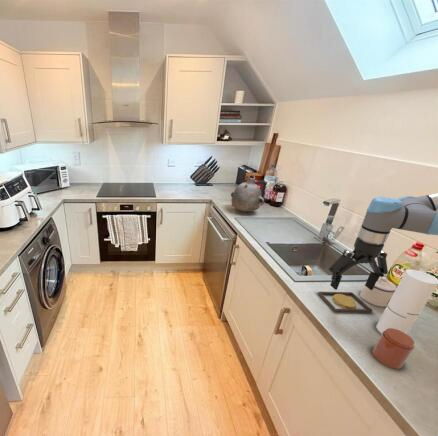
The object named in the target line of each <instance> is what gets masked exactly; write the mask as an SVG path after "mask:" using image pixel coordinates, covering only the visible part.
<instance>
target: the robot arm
mask: <svg viewBox="0 0 438 436" xmlns="http://www.w3.org/2000/svg"><path fill="white" fill-rule="evenodd" d="M392 229H396V230H400V231H408V232H413V233H419V234H424V235H427V236H428V235H430V236H431V235H432V236H438V192H436V193H431V194H427V195H421V196H412V195H405V196H400V197H399V198H397V199H396V198H391V197H385V196H377V197H374V198H372V199H371V200H370V203H369V205H368V207H367V209H366V212H365V215H364V218H363V221H362V224H361V226H360V228H359V230H358V234H357V237H356V239H355V241H354V243H353V247H354V249H353V250H352V251H349V250H348V249H345V250H344V251H343V252H342V255H340V256H339V257H338V259H336V260H335V262H334V263H332V265H331V266H329V268H328V271H329V272H331V274H332V275H331V282H330V285H329V286H330V287H331V288H332V289H333V290H336V291H337V290H338V288H339V285H340V283H341V280H342V278H343V275H342V274H344V273H345V272H347V271H348V270H349V269H352V267H354V266H357V265H359V264H368V265H369V267H370V268H371V270H372V271H370V273H369V275H368V276H367V278H368V279H367V278H366V279H367V282H366V281H365V283H366V284H365V283H364V285H365V286H366V287H368V288H369V289H370V290H373V288H374V286H375V284H376V282H377V281H378V279H379V277H385V275H388V274H389V270H388V263H387V257H388V253H387V252H385V251H383V249H384V247H385V244H386V243H387V240H388V238H389V235H390V234H391V231H392Z"/></svg>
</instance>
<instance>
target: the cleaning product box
mask: <svg viewBox="0 0 438 436" xmlns="http://www.w3.org/2000/svg"><path fill="white" fill-rule="evenodd" d="M247 180H248V179H243V180H242V183H244V182H246V181H247ZM267 183H268V182H267V181H266V180H263V179H255V184H256V185H258V186H259V188H260V190H261V195H262V198H263V199H265V198H264V197H265V193H266V188H267V185H268V184H267ZM261 203H262V200H261Z"/></svg>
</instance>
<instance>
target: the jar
mask: <svg viewBox="0 0 438 436" xmlns="http://www.w3.org/2000/svg"><path fill="white" fill-rule="evenodd" d="M414 349H415V341H414V339H413V338H412V337H411V336H410V335H409V334H408V333H407V334H405V333H404V332H402V331H399V330H397V329H392V328H389V329H386V330H385V331H384V332H383V333H381V335H380V337H378V339H377V342H376V344H375V345H374V347H373V349H372V355H373V356H374V358H375V359H376V360H377V361H378V362H380V363H381V364H382V365H384V366H386V367H389V368H391V369H395V370H399V369H402V367H403V366H404V364H406V363H405V362H406V361H407V360H408V358H409V357H410V355H411V353H412V352H413V350H414Z"/></svg>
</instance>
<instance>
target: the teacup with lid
mask: <svg viewBox="0 0 438 436" xmlns="http://www.w3.org/2000/svg"><path fill="white" fill-rule="evenodd" d="M367 279H368V277H367V278H366V279H365V283H364V285H363V287H362V289H361V291H360V295H359V296H360V297H361V298H362V299H363V300H364V301H366V302H367V303H369V304H371V305H374V306H377V307H382V308H383V307H387V305H388V303H389V301H390V299H391V298H392V296H393V294H394V292H395V290H396V288H397V286H396V285H395V284H394V283H393V282H392V281H390V280H388V278H387V277H385V276H383V277H381V276H380V277H379V279H378V281H377V282H376V284H375V286H374V288H373V290H370V289H369V288H368V287H366V286H365V284H366V282H367Z"/></svg>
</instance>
